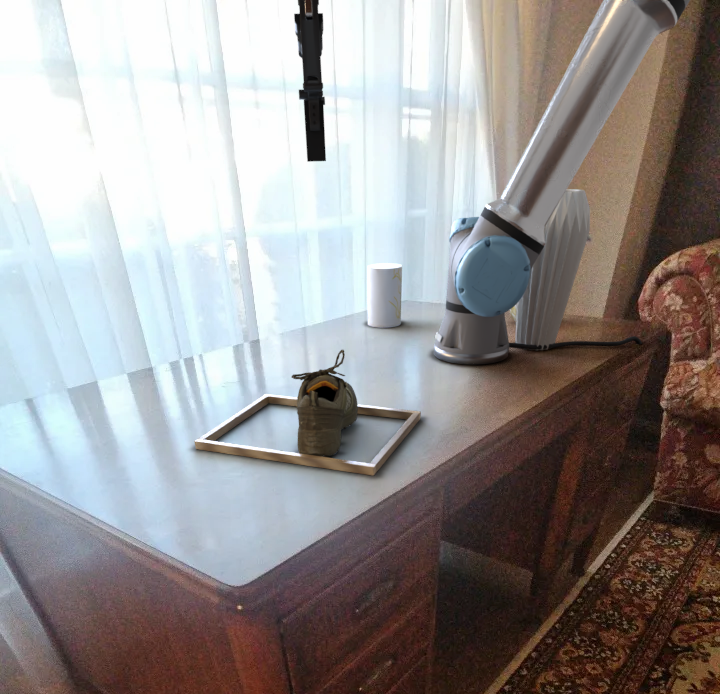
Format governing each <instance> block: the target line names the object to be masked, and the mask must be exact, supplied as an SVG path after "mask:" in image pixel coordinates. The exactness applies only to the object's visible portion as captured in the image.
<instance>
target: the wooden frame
mask: <svg viewBox="0 0 720 694" xmlns="http://www.w3.org/2000/svg"><path fill="white" fill-rule="evenodd" d="M297 398H298V396H288V395H280V394H279V395H277V394H269V393H264V394H263V395H262V396H260V397H259V398H257V399H256V400H254V401H252V402H251V403H249V404H248V405H246V406H245V407H244V408H242V409H241V410H239V411H238V412H236V413H235V414H233V415H232V416H230V417H228V418H227V419H225V420H224V421H223V422H221V423H220V424H218V425H216V426H215V427H214V428H212V429H210V430H209V431H208V432H206V433H205V434H203V435H201V436H200V437H198V438H197V439H196V440H194V441H193V442H194V446H195V450H201V451H205V452H213V453H220V454H226V455H227V454H228V455H233V456H241V457H246V458H247V457H248V458H253V459H260V460H267V461H274V462H280V463H286V464H293V465H300V466H306V467H307V466H308V467H314V468H320V469H327V470H333V471H341V472H345V473H346V472H347V473H353V474H360V475H366V476H372V477H373V476H375V475H376V474H377V472H378V471H379V470H380V469H381V468H382V466H383V465H384V464H385V463H386V461H388V460H389V458H390V457H391V456H392V455H393V453H394V452H395V451H396V449H397V448H398V447H399V445H400V444H402V442H403V441H405V439H406V437H407V436H409V434H410V432H411V431H412V430H413V429H414V427H415V426H416V425H417V424H418V422H420V420H421V419H422V418H421V417H422V412H421V411H419V410H411V409H403V408H394V407H385V406H375V405H367V404H359V403H357V405H358V412H357V415H366V416H373V417H374V416H375V417H382V418H392V419H399V420H405V422H404V423H403V424H402V425H401V426H400V428H399V429H398V430H397V431H396V432H395V433H394V434H393V435H392V437H391V438H389V440H388V442H386V444H385V445H384V446H383V447H382V448H381V449H380V451H379V452H378V453H377V454H376V455H375V456H374V458H373V459H372V460H371V461H370V462H369V463H368V462H362V461H355V460H348V459H341V458H334V457H329V456H314V455H307V454H300V453H299V452H291V451H287V450H286V451H285V450H278V449H272V448H264V447H257V446H251V445H243V444H238V443H230V442H223V441H216V440H218V439H219V438H220V437H222V436H223V435H225V434H226V433H228V432H229V431H231V430H232V429H233V428H235V427H237V426H238V425H240V424H241V423H242V422H244V421H245V420H247V419H248V418H249V417H251V416H253V415H255V413H257V412H258V411H259V410H261V409H262V408H264V407H265V406H267V405H268V404H274V405H280V406H281V405H282V406H289V407H297Z"/></svg>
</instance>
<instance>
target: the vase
mask: <svg viewBox="0 0 720 694" xmlns="http://www.w3.org/2000/svg"><path fill="white" fill-rule="evenodd" d="M590 232H591V207H590V204H589V200H588V197H587V192H586V190H584V189H578V188H577V189H576V188H575V189H573V188H567V190H566V191H565V193H564V195H563V197H562V198H561V200H560V202H559V204H558V205H557V207H556V209H555V210H554V212H553V214H552V216H551V217H550V219H549V221H548V222H547V224H546V226H545V230H544V233H545V243H546V244H545V246H544V248H543V249H542V251H541V253H540V255H539V256H538V258H537V260H536V261H535V263H534V265H533V267H532V268H531V270H530V278H529V282H528V285H527V288H526V291H525V293H524V294H523V296H522V298H521V299H520V300H519V302H518V303H517V304H516V322H515V335H514V336H515V339H514V343H520V344H528V345H537V347H538V346H539V345H541V346H542V349H540V350H538V349H536V350H535V351H544V350H546V351H547V350H550V349H552V348H550V349H548V347H549V344H553V343H556V342H557V341H556V340H557V338H558V334H559V331H560V328H561V325H562V322H563V318H564V316H565V312H566V309H567V305H568V302H569V299H570V295H571V292H572V289H573V287H574V282H575V280H576V278H577V277H576V276H577V273H578V270H579V267H580V264H581V260H582V258H583V253H584V251H585V248H586V244H587V241H588V237H589V234H590ZM544 345H546V346H547V348H546V349H543V348H544ZM524 350H525V351H526V350H527V349H524ZM528 350H529V351H531V350H530V349H528Z"/></svg>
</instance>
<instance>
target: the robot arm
mask: <svg viewBox="0 0 720 694" xmlns="http://www.w3.org/2000/svg"><path fill="white" fill-rule="evenodd" d="M690 2H691V0H602V2H601V4H600V6H599V7H598V9H597V11H596V13H595V15H594V18H593V19H592V20H591V22H590V24H589V27H588V29H587V30H586V33H584V37H583V38H582V40H581V42H580V44H579V45H578V48H577V49H576V51H575V53H574V56H573V57H572V59H571V61H570V63H569V64H568V67H567V69H566V70H565V72H564V75H563V77H562V78H561V80H560V82H559V84H558V86H557V88H556V90H555V92H554V94H553V96H552V97H551V99H550V101H549V103H548V105H547V107H546V109H545V111H544V113H543V115H542V117H541V118H540V120H539V122H538V124H537V126H536V128H535V130H534V132H533V134H532V135H531V138H530V139H529V142H528V143H527V146H525V149H524V151H523V153H522V155H521V157H520V159H519V161H518V162H517V165H515V169H513V172H512V174H511V176H510V178H509V180H508V182H507V183H506V185H505V187H504V190H503V191H502V193H501V195H500V197H498V198H497V199H495V200H493V201H490V202H487V203H486V204H485V205H484V207H483V209H482V211H481V213H480V215H479V216H469V217H460V218H457V219H455V220H454V221H453V222H452V224H451V231H450V235H449V255H448V256H449V257H448V270H447V271H448V272H447V283H446V284H447V286H446V296H445V297H446V298H445V299H446V300H445V312H444V315H443V318H442V321H441V324H440V326H439V330H438V331H436V333H435V336H434V338H435V341H434V344H433V355H434V357H435V358H436V359H439V360H441V361H444V362H447V363H450V364H451V363H452V364H459V365H489V364H495V363H498V362H501V361H504V360H506V359H507V358H508V356H509V352H510V351H509V350H510V349H511V348H512V349H521V350H522V349H523V350H525V349H526V350H529V349H530V350H529V351H536V349H538V350H537V351H541V350H540V349H542V346H541V345H539V346H538V347H537V345H528V344H520V343H515V342H510V341H509V334H508V329H507V322H506V321H507V320H506V315H505V313H507V312H510V309H511V308H513V307H514V306H515V305H516V304H517V303H518V302H519V300H520V299H521V298H522V296H523V294H524V293H525V291H526V288H527V285H528V282H529V278H530V270H531V268H532V267H533V265H534V263H535V261H536V260H537V258H538V256H539V255H540V253H541V251H542V249H543V248H544V246H545V244H546V243H545V233H544V230H545V226H546V224H547V222H548V221H549V219H550V217H551V216H552V214H553V212H554V210H555V209H556V207H557V205H558V204H559V202H560V200H561V198H562V197H563V195H564V193H565V191H566V190H567V189H569V186H570V185H571V183H572V181H573V179H574V178H575V176H576V175H577V173H578V171H579V169H580V167H581V166H582V164H583V162H584V161H585V159H586V157H587V156H588V154H589V152H590V151H591V148H592V147H593V145H594V144H595V141H596V140H597V138H598V137H599V134H600V133H601V131H602V130H603V128H604V126H605V124H606V123H607V121H608V120H609V117H610V116H611V115H612V113H613V110H614V109H615V107H616V105H617V104H618V102H619V101H620V99H621V97H622V96H623V93H624V91H625V90H626V88H627V87H628V85H629V83H630V81H631V79H632V78H633V76H634V75H635V73H636V72H637V69H638V67H639V66H640V64H641V63H642V61H643V59H644V58H645V55H646V54H647V52H648V51H649V49H650V47H651V45H652V43H653V42H654V40H655V38H657V37H658V36H659V35H660V34H663V33H665V32H667V31H669V30H672V29H673V28H674V27H675V26H676V25H677V23H678V21H679V20H680V18H681V16H682V14H683V13H684V11H685V10H686V8H687V7H688V5H689V3H690ZM297 6H298V7H299V9H298V10H299V13H294V14H293V19H294V32H295V36H296V37H297V50H298V56H299V57H300V58H301V61H302V77H303V83H302V89H298V99H299V100H301V101H303V107H304V108H303V110H304V128H305V143H306V145H305V146H306V159H307V160H306V161H307V162H309V163H310V162H326V161H327V158H326V157H327V156H326V155H327V154H326V136H325V135H326V133H325V111H324V110H325V109H324V108H325V107H324V106H326V98H325V96H324V90H323V89H324V83H323V79H322V77H323V76H322V61H321V60H322V59H321V57H322V55H323V49H324V48H323V47H324V45H323V43H324V41H323V35H324V13H323V12H319V6H320V0H297ZM630 342H635V344H636V345H642V344H643V342H642V341H641V339H640V338H639V337H638V336H635V335H632V336H630V337H627V338H624V339H622V340H618V341H591V340H574V341H573V340H571V341H561V342H555V343H553V344H549V347H548V350H550V348H551V349H557V348H563V347H618V346H619V347H620V346H623V345H626V344H628V343H630ZM546 348H547V346H546V345H544V348H543V350H544V349H546Z"/></svg>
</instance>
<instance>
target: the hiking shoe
mask: <svg viewBox="0 0 720 694" xmlns="http://www.w3.org/2000/svg"><path fill="white" fill-rule="evenodd" d="M340 355H342V357H341V360H340V362H339V359H340ZM344 360H345V349H341V350H340V351H338V352H337V355H336V359H335V363H334V365H333V366H331V367H328V368H325V369H319V370H316V371H312V372H303V373H298V374H297V373H296V374H292V375H291V378H292V379H293V380H300V381H302V382H301V384H300V387H299V389H298V392H297V393H298V394H297V406H296V410H297V411H296V414H297V418H298V419H297V420H298V427H297V428H298V429H297V451H298V453H300V454H307V455H314V456H321V457H330V456H334V455H336V454H337V453H338V452H339V451H340V448H341V443H342V430H345V429H346V428H348V427H349V428H350V426H352V425H353V424H354V423H355V422H357V419H358V414H357V412H358V405H357V404H358V398H357V394H356V392H355V390H354V388H353V386H352V385H351V384H350V383H349V382H347V381H345V380H344V378H342V377H346V375H345V374H343V373H340V372H338V371H335V368H336V369H337V368H339V367H340V366H341V365H343V363H344ZM338 362H339V363H338ZM336 375H339V376H342V377H339V376H336Z"/></svg>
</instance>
